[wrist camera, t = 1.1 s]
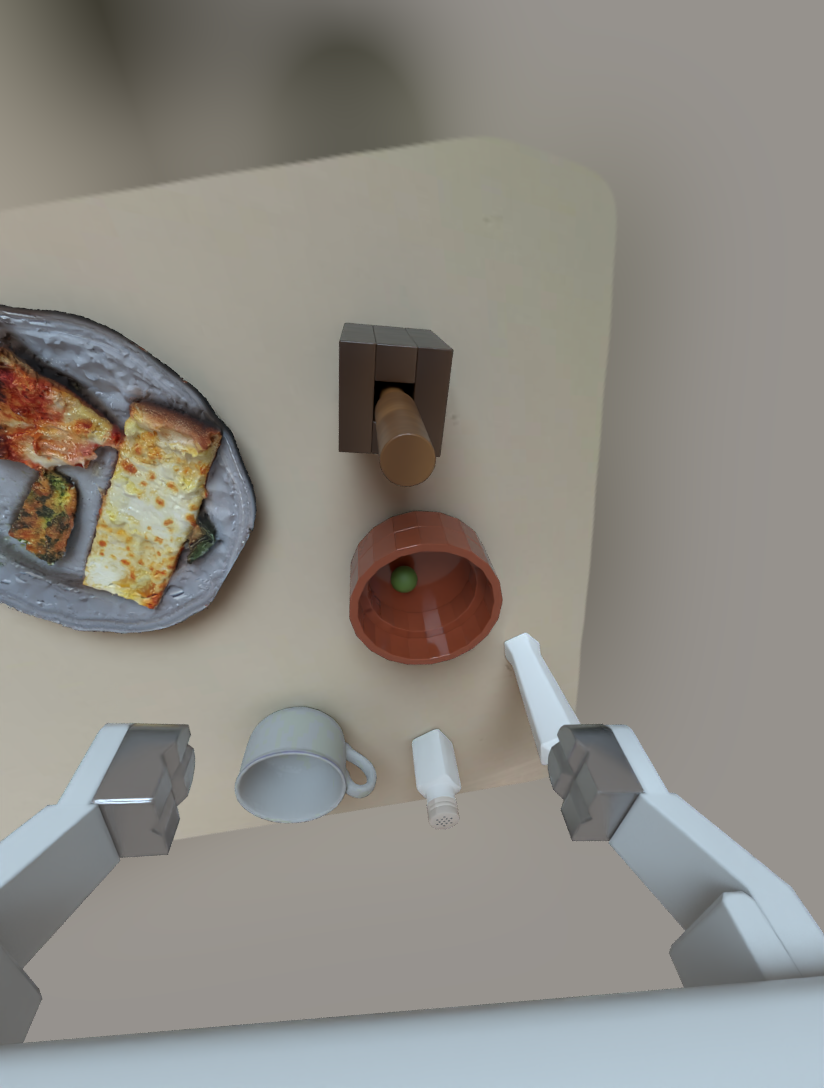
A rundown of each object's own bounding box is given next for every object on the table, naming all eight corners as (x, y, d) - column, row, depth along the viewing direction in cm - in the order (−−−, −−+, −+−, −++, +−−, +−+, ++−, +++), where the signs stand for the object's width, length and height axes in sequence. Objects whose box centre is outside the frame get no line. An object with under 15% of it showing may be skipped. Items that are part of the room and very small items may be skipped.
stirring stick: (402, 356, 33) (439, 434, 17) (399, 388, 34) (433, 488, 18) (371, 354, 32) (381, 431, 17) (370, 386, 34) (378, 486, 18)
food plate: (-56, 219, 26) (-110, 213, 23) (307, 433, 35) (302, 448, 32) (-113, 538, 36) (-157, 563, 33) (183, 647, 44) (171, 674, 41)
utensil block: (431, 330, 32) (453, 349, 24) (422, 415, 35) (440, 457, 27) (344, 322, 31) (339, 340, 24) (343, 411, 34) (338, 452, 27)
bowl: (495, 510, 40) (515, 545, 35) (473, 620, 46) (487, 664, 41) (352, 505, 38) (350, 541, 33) (349, 619, 45) (348, 665, 39)
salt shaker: (426, 755, 57) (437, 836, 49) (409, 738, 55) (417, 820, 47) (454, 742, 56) (470, 822, 48) (438, 725, 54) (451, 805, 46)
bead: (417, 560, 41) (420, 576, 39) (414, 582, 42) (417, 598, 40) (390, 560, 41) (392, 575, 39) (388, 582, 42) (390, 598, 40)
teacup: (237, 742, 52) (219, 813, 45) (270, 679, 48) (255, 748, 41) (350, 767, 57) (348, 835, 50) (389, 712, 52) (394, 779, 45)
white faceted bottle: (508, 669, 50) (559, 805, 37) (494, 644, 48) (542, 780, 35) (547, 652, 50) (613, 786, 37) (534, 625, 47) (599, 758, 35)
